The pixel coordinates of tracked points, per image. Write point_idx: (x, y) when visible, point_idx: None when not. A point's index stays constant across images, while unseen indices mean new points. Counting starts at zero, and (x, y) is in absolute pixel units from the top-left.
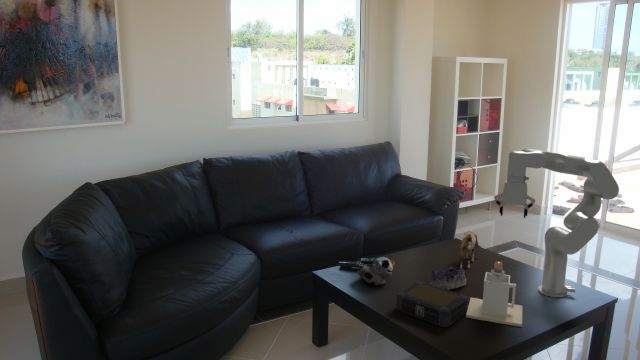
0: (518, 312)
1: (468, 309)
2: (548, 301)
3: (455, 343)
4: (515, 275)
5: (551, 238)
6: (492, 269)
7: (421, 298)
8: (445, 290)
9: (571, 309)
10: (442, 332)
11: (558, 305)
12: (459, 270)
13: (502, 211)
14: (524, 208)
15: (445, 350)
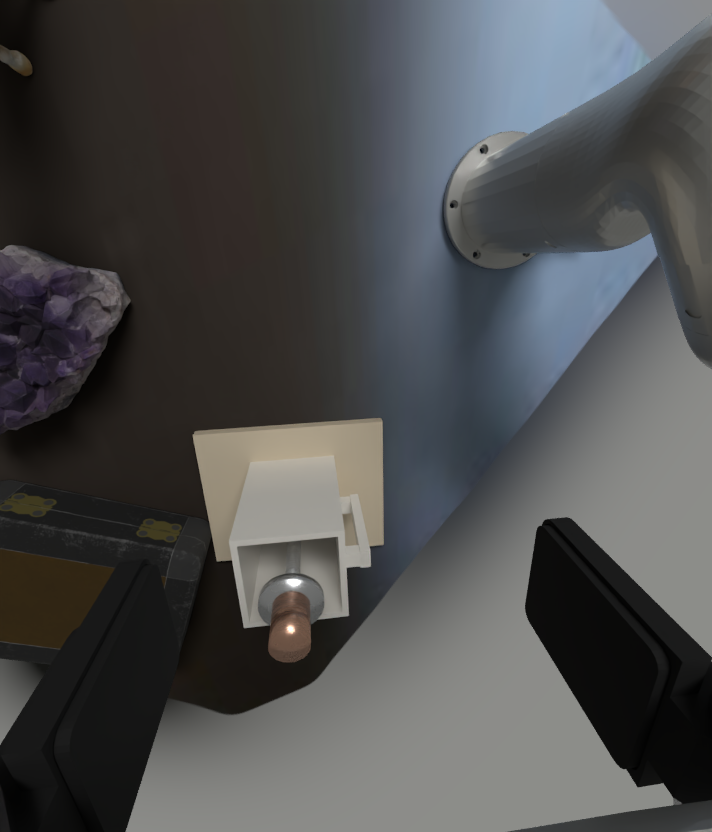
0: (370, 478)
1: (213, 527)
2: (474, 316)
3: (232, 678)
4: (335, 18)
5: (692, 240)
6: (261, 594)
7: (50, 645)
8: (99, 555)
9: (543, 353)
10: (184, 651)
11: (505, 338)
12: (58, 318)
13: (149, 744)
14: (655, 692)
15: (219, 709)
